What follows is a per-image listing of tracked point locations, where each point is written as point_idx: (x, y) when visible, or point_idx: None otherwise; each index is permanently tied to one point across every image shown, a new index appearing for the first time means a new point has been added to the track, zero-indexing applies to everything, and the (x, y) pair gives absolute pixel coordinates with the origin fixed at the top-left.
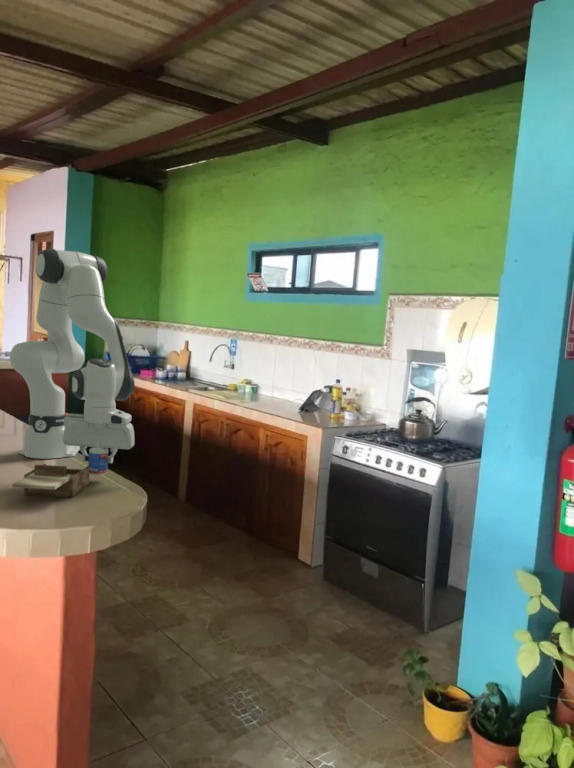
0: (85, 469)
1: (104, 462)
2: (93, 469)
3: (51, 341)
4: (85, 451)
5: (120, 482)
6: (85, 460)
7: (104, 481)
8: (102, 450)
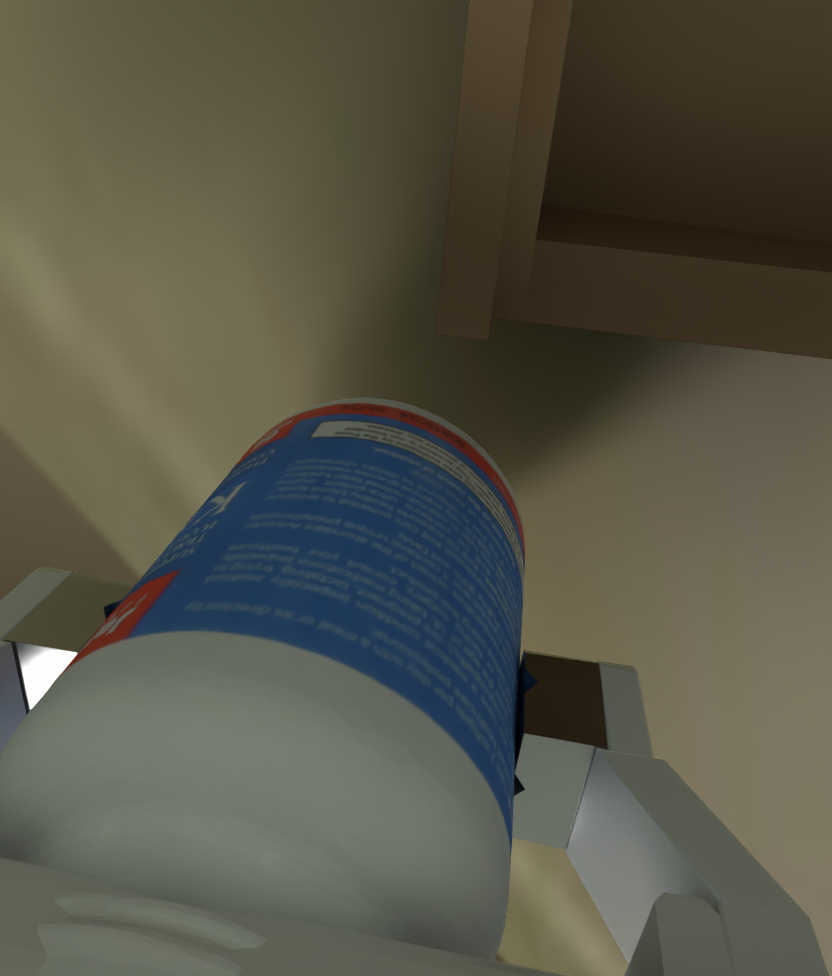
0: (469, 7)
1: (160, 556)
2: (395, 440)
3: None
4: (625, 909)
5: (107, 449)
6: (587, 661)
7: None
8: (35, 754)
